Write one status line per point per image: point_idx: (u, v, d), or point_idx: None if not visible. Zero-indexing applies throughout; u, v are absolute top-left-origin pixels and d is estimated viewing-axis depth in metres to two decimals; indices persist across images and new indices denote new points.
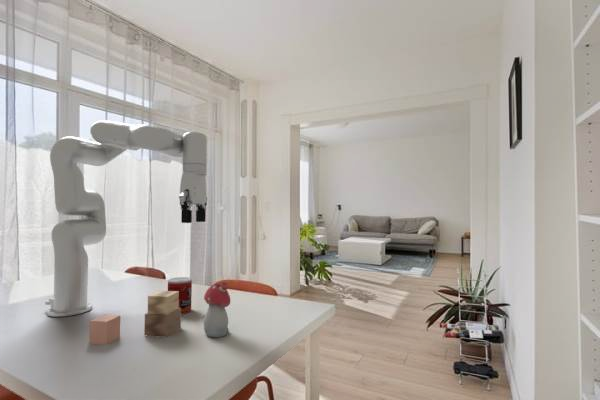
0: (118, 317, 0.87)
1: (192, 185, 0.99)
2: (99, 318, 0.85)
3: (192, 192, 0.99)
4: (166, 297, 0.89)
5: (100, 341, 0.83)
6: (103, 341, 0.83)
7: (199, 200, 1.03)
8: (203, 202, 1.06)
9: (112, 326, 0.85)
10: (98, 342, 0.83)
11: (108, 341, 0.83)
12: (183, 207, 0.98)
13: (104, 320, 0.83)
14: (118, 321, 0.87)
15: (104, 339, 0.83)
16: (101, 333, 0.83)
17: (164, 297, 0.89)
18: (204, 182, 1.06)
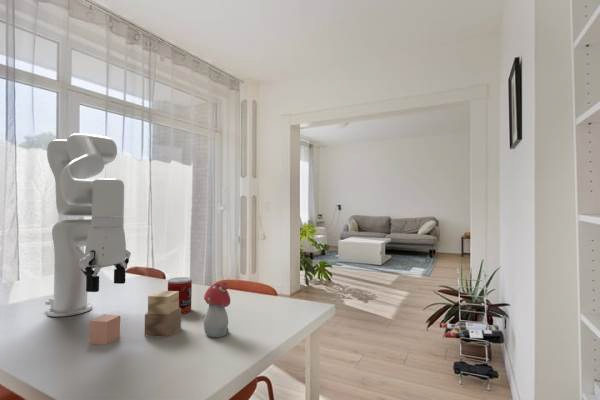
0: (118, 317, 0.87)
1: (99, 245, 0.81)
2: (99, 318, 0.85)
3: (99, 254, 0.81)
4: (166, 297, 0.89)
5: (100, 341, 0.83)
6: (103, 341, 0.83)
7: (112, 261, 0.85)
8: (120, 261, 0.88)
9: (112, 326, 0.85)
10: (98, 342, 0.83)
11: (108, 341, 0.83)
12: (86, 273, 0.79)
13: (104, 320, 0.83)
14: (118, 321, 0.87)
15: (104, 339, 0.83)
16: (101, 333, 0.83)
17: (164, 297, 0.89)
18: (121, 237, 0.88)
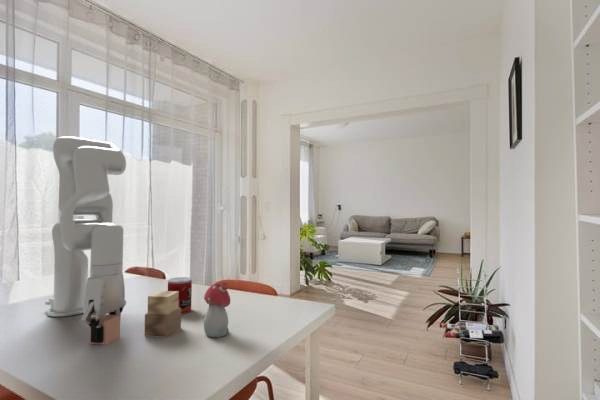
0: (118, 317, 0.87)
1: (98, 294, 0.81)
2: None
3: (98, 303, 0.81)
4: (166, 297, 0.88)
5: None
6: (103, 341, 0.83)
7: (111, 308, 0.85)
8: (119, 306, 0.88)
9: (112, 325, 0.84)
10: None
11: (108, 341, 0.83)
12: (91, 325, 0.81)
13: (104, 320, 0.83)
14: (118, 321, 0.87)
15: (105, 339, 0.83)
16: None
17: (164, 297, 0.88)
18: (120, 282, 0.88)
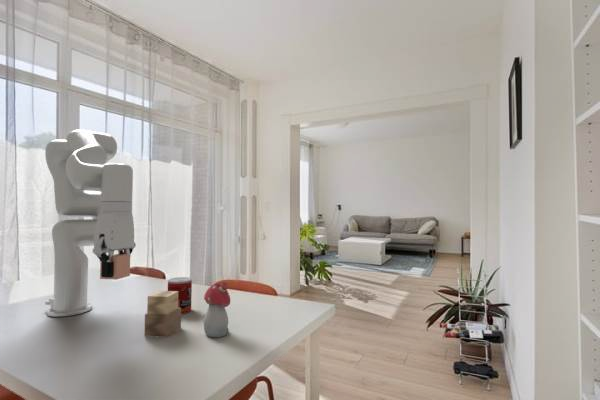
0: (128, 255, 0.88)
1: (108, 229, 0.82)
2: None
3: (108, 237, 0.82)
4: (166, 297, 0.89)
5: None
6: (113, 276, 0.84)
7: (121, 245, 0.86)
8: (129, 246, 0.89)
9: (122, 262, 0.86)
10: (109, 277, 0.84)
11: (118, 276, 0.84)
12: (102, 259, 0.82)
13: (114, 256, 0.85)
14: (128, 259, 0.88)
15: (115, 274, 0.84)
16: None
17: (164, 297, 0.89)
18: (130, 222, 0.89)
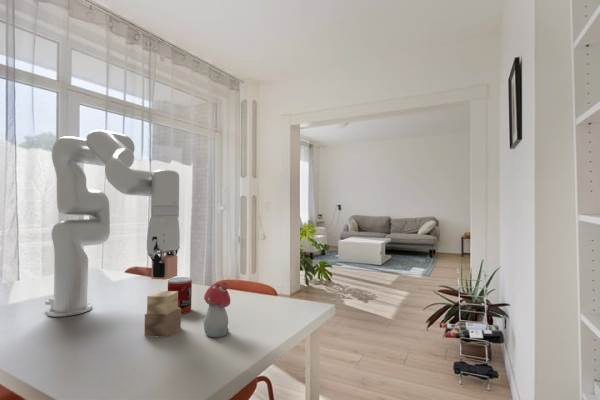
0: (176, 257, 0.94)
1: (161, 232, 0.88)
2: (159, 256, 0.92)
3: (161, 240, 0.87)
4: (166, 297, 0.88)
5: None
6: (164, 276, 0.89)
7: (170, 247, 0.91)
8: (175, 247, 0.94)
9: (171, 263, 0.91)
10: None
11: (169, 276, 0.90)
12: (154, 261, 0.88)
13: (165, 257, 0.90)
14: (176, 260, 0.94)
15: (166, 274, 0.89)
16: None
17: (164, 297, 0.89)
18: (177, 225, 0.95)
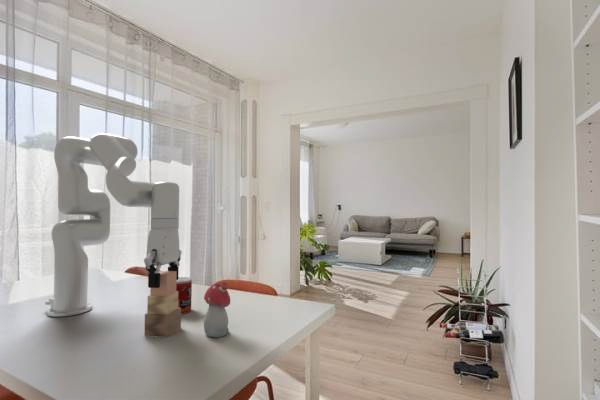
0: (175, 272, 0.93)
1: (160, 244, 0.87)
2: None
3: (160, 252, 0.87)
4: (166, 297, 0.89)
5: (160, 293, 0.89)
6: (163, 293, 0.89)
7: (170, 259, 0.91)
8: (175, 259, 0.94)
9: (170, 279, 0.91)
10: (159, 294, 0.89)
11: (168, 293, 0.90)
12: (149, 271, 0.86)
13: (164, 274, 0.90)
14: (175, 276, 0.93)
15: (165, 291, 0.89)
16: (161, 285, 0.89)
17: (164, 297, 0.89)
18: (176, 237, 0.94)
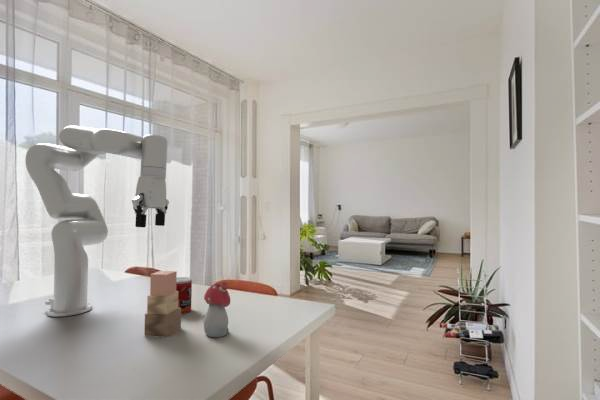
0: (175, 272, 0.93)
1: (147, 189, 0.98)
2: (158, 273, 0.91)
3: (147, 196, 0.98)
4: (166, 297, 0.88)
5: (160, 293, 0.89)
6: (163, 293, 0.89)
7: (156, 204, 1.01)
8: (162, 206, 1.05)
9: (170, 279, 0.91)
10: (158, 294, 0.89)
11: (167, 293, 0.90)
12: (137, 211, 0.96)
13: (164, 274, 0.90)
14: (175, 276, 0.93)
15: (164, 291, 0.89)
16: (161, 285, 0.89)
17: (164, 297, 0.89)
18: (163, 186, 1.05)
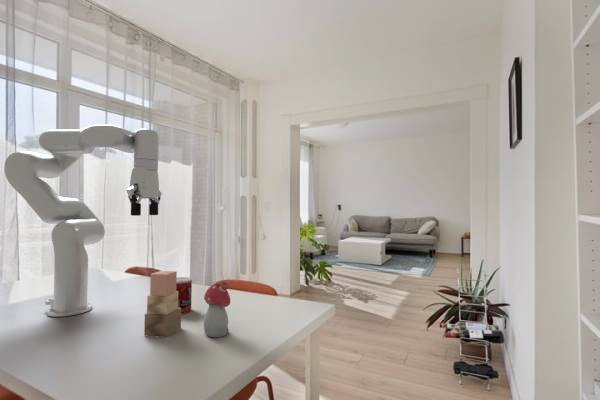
0: (175, 273, 0.93)
1: (141, 179, 1.04)
2: (158, 273, 0.91)
3: (141, 186, 1.04)
4: (165, 297, 0.88)
5: (160, 293, 0.89)
6: (163, 293, 0.89)
7: (150, 194, 1.08)
8: (155, 196, 1.11)
9: (170, 279, 0.91)
10: (158, 294, 0.89)
11: (167, 293, 0.90)
12: (132, 200, 1.02)
13: (163, 274, 0.90)
14: (175, 276, 0.93)
15: (164, 291, 0.89)
16: (161, 285, 0.89)
17: (163, 297, 0.89)
18: (156, 177, 1.11)
